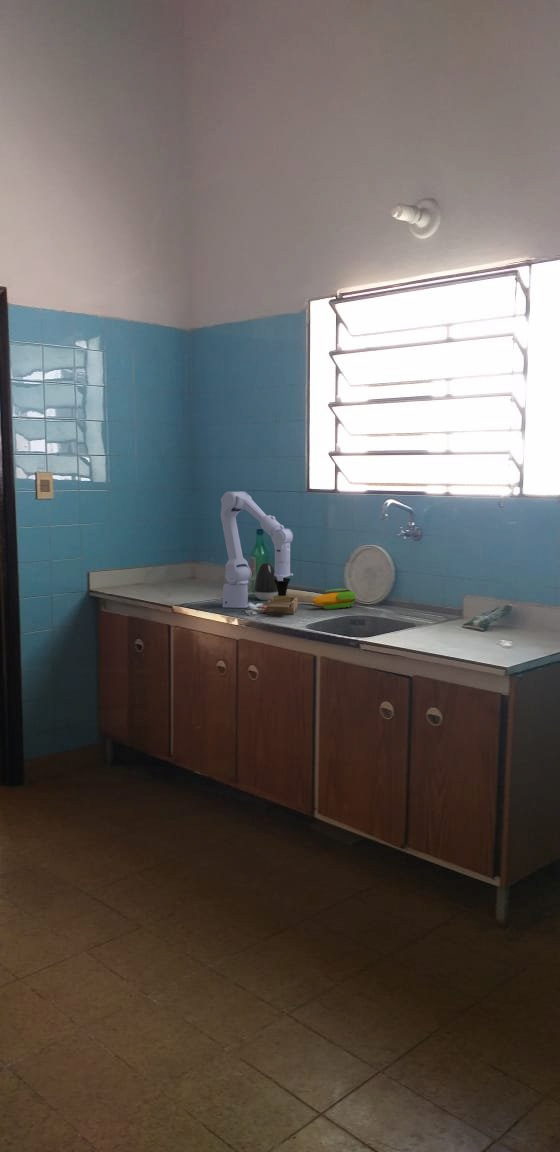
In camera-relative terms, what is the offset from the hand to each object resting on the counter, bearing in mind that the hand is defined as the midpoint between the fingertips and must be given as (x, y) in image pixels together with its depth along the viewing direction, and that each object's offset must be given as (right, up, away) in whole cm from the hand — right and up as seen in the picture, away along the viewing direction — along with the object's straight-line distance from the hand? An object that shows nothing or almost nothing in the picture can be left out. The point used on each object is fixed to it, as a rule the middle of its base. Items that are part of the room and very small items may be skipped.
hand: (282, 598), depth 341 cm
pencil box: (0, -5, +2) cm, 5 cm away
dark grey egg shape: (-6, -2, +32) cm, 32 cm away
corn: (+20, -4, +9) cm, 22 cm away
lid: (-1, -3, -6) cm, 7 cm away
